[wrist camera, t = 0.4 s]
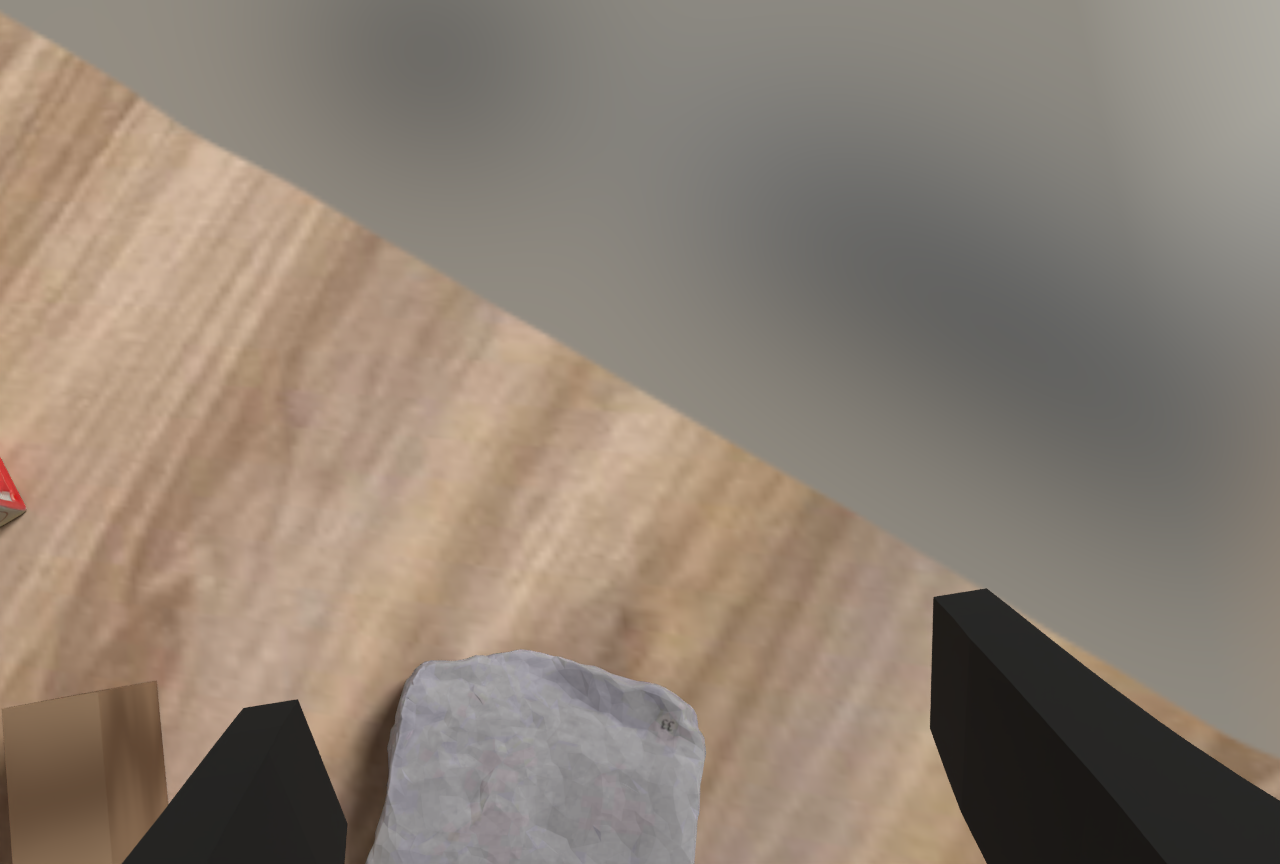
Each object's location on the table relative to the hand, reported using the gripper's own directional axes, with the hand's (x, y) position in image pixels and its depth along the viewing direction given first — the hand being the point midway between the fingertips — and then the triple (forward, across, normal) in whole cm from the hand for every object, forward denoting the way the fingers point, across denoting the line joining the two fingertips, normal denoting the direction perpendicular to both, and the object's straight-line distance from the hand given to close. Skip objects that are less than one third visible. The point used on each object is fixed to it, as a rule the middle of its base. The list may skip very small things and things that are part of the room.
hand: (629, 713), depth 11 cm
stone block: (+18, +4, +21) cm, 28 cm away
